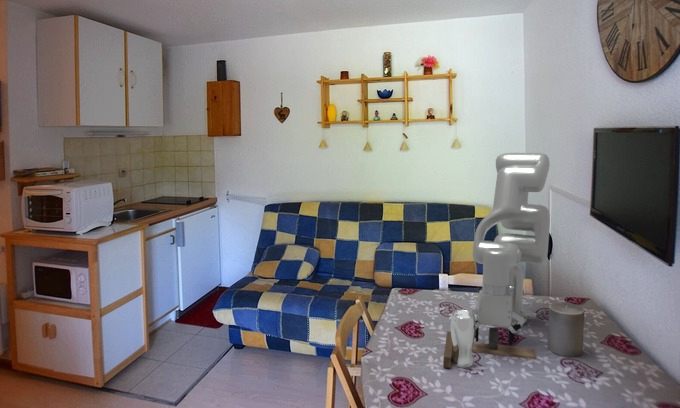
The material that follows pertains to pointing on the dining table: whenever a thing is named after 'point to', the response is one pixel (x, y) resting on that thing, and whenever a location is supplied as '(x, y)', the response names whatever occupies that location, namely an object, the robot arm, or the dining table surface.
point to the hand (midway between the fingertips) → (493, 341)
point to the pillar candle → (565, 329)
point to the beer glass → (462, 337)
